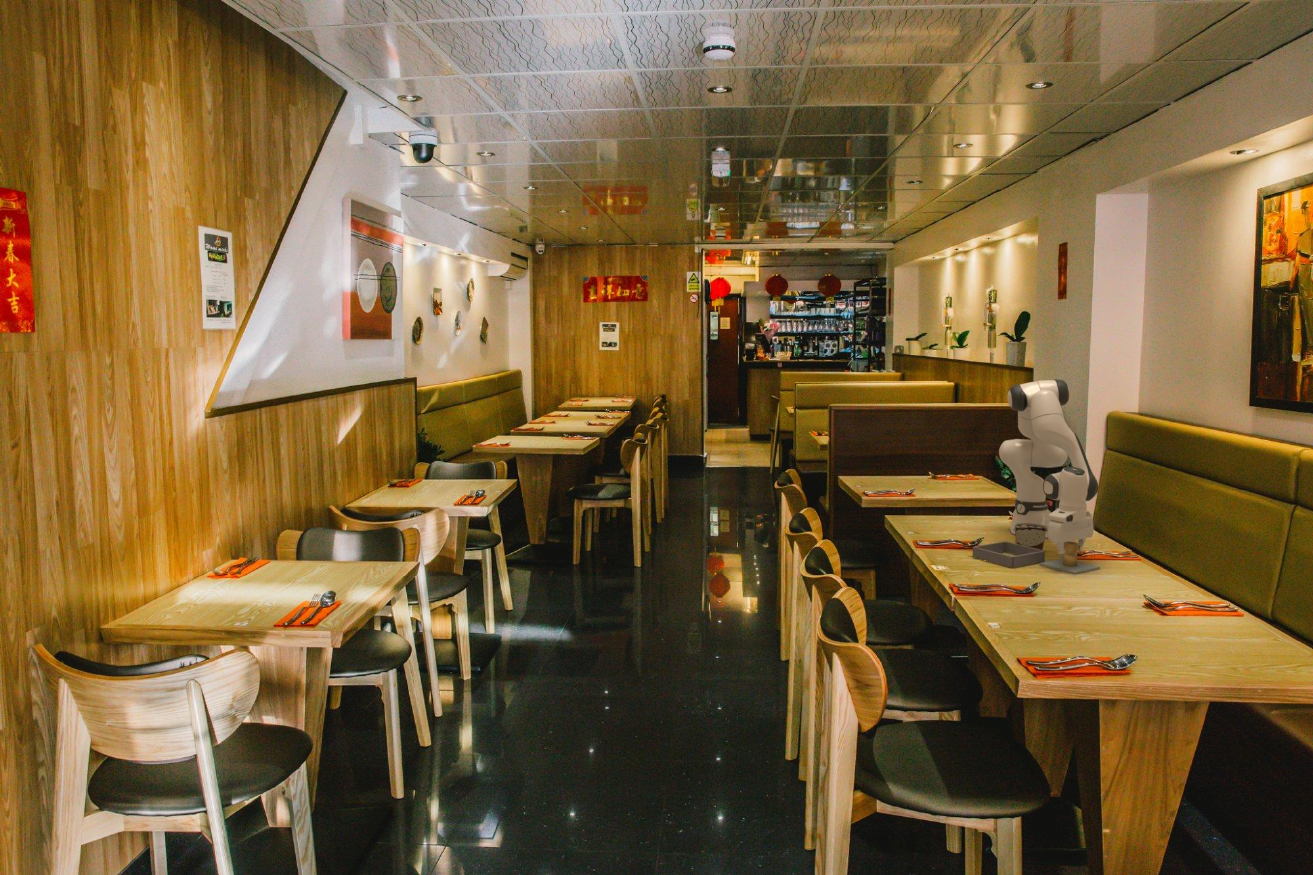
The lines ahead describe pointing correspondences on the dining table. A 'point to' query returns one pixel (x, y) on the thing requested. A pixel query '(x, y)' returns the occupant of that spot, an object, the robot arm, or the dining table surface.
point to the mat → (1077, 569)
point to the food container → (1030, 535)
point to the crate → (1023, 553)
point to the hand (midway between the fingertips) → (1070, 552)
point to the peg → (1070, 554)
